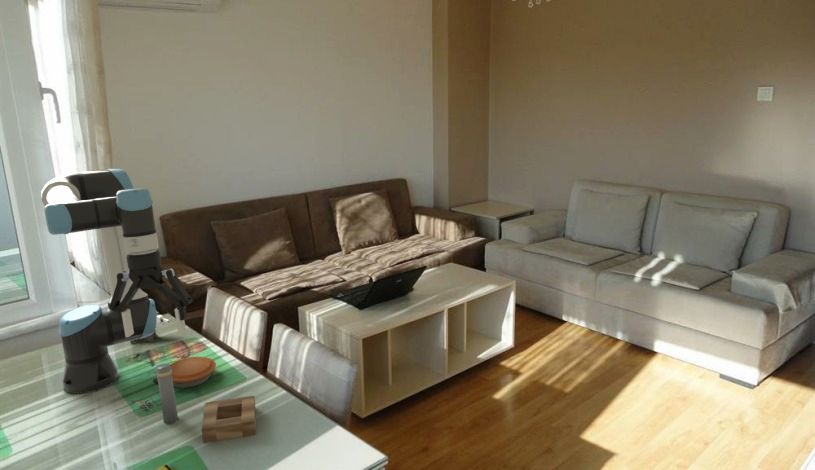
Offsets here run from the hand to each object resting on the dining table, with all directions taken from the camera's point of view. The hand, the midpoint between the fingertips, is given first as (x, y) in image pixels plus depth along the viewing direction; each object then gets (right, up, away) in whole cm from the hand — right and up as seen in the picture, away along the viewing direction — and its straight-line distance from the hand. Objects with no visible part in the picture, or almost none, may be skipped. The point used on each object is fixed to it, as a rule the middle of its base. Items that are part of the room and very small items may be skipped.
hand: (155, 334), depth 145 cm
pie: (-4, -20, +35) cm, 40 cm away
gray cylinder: (-1, -26, +12) cm, 29 cm away
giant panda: (-30, -13, +63) cm, 71 cm away
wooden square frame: (+16, -26, +10) cm, 32 cm away
